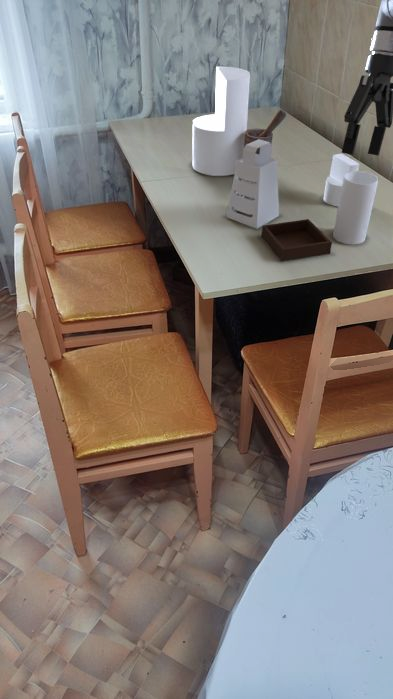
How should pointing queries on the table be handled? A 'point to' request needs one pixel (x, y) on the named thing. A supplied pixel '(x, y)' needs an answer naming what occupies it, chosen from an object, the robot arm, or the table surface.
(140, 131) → the table surface
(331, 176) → the base with upright slab
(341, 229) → the cup
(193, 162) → the cylinder
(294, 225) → the tray
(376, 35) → the robot arm
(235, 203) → the grater
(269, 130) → the mortar and pestle
